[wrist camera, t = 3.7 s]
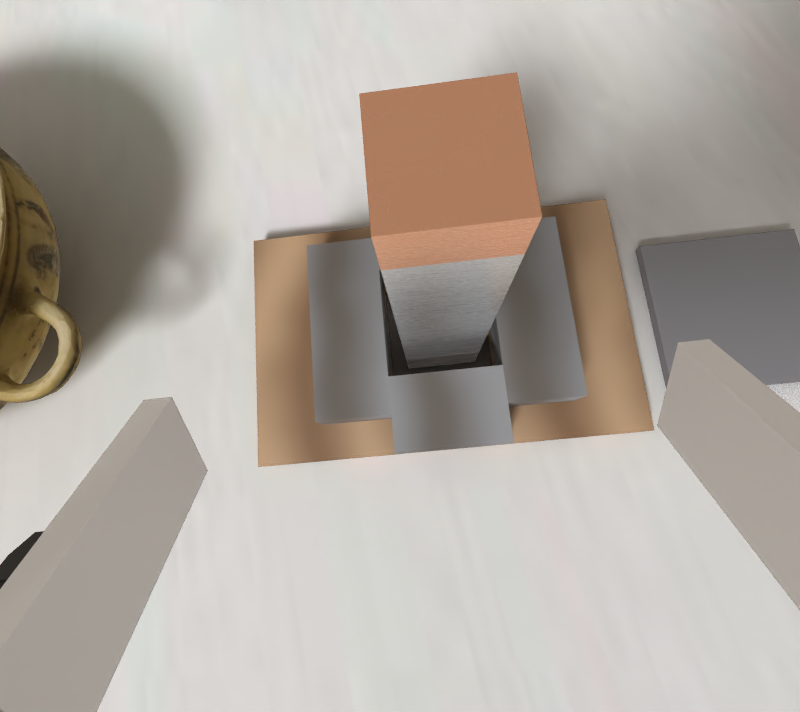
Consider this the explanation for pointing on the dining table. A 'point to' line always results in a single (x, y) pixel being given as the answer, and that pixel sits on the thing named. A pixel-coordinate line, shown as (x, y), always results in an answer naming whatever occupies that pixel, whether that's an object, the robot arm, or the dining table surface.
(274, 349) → the board
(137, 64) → the dining table surface
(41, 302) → the ceramic bowl
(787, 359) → the pad
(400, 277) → the grey orange-ended block
